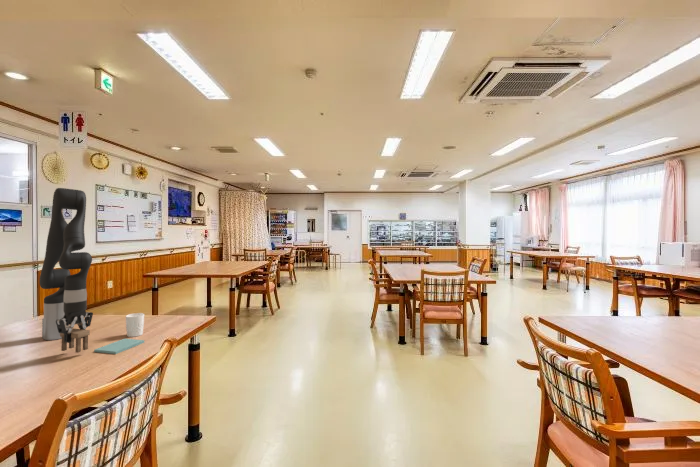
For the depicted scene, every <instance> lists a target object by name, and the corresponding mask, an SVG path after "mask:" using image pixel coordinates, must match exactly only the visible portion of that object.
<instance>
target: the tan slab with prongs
mask: <svg viewBox="0 0 700 467" xmlns="http://www.w3.org/2000/svg"><path fill="white" fill-rule="evenodd" d="M67 331H68V330H67ZM90 333H91V332H90V329H85V330H83V329H79V328H75V327H73V328H72V330H71V342H69V343H66V342H65V341H64V334H63V333H60V337H62V338H61V351H62V352H65V351H68V350H67V349H74V348H75V353H77V354H78V353H81V350H83V351H86V350H88V349H89V336H90ZM81 337H83V338H81Z"/></svg>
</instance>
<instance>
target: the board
mask: <svg viewBox="0 0 700 467" xmlns="http://www.w3.org/2000/svg"><path fill="white" fill-rule="evenodd" d="M142 344H145V340H144V339H133V338H123V339H120V340H117V341H114V342H111V343H109V344H106V345H103V346H100V347H97V348H94V351H93V352H94V353H102V354H103V353H104V354H112V355H116V354H120V353H122V352H124V351H128V350H129V349H132V348H134V347H136V346H139V345H142Z"/></svg>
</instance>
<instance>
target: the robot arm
mask: <svg viewBox="0 0 700 467" xmlns="http://www.w3.org/2000/svg"><path fill="white" fill-rule="evenodd" d="M63 210H74V211H76V212H75V215H74V217H73V218H72V219H71V220H70V221H69V222H67V220H66V219H65V217H64V215H63V213H62V212H63ZM86 210H87V195H86V192H85V191H84V190H81V189H80V190H79V189H72V188H65V187H64V188H63V187H57V188H55V190H54V193H53V196H52V208H51V218H50V225H49V229H48V234H47V240H46V247H45V253H44V254H45V255H44V260H43V264H42V267H41V271H40V274H39V286H40V288H41V289H43V290H50V289H51V290H52V289H58V290H57V291H55V292H54V293H51V294H49V295H47V296H45V297H44V298H43V318H42V320H41V321H42V323H41V326H42V328H41V329H42V330H41V331H42V332H41V336H42V337H41V339H43V340H45V341H53V340H60V339H61V340H62V337H60V333H63V334H64V341H65V342H66V343H67V344H69V342H71V330H72V328H75V325H77V326H78V329H83V330H87V328H88V327H91V324H92V321H93V320H92V319H93V315H94V312H90V311H87V308H88V302H87V301H88V299H87V298H88V292H87V279H88V273H89V270H90V269H91V268H90V267H91V265H92V262H93V257H92V255H91V254H90V253H89V252H86V251H83V252H82V251H81V250H83V249H84V248H85V246H86V238H85V222H86V221H85V220H86ZM76 251H78V252H76ZM79 251H81V252H79ZM57 264H58V265H59V267H60V268H55V267H56V265H57ZM70 270H79V271H78V272H77V273H74V274H72V273H71V272H70ZM67 330H68V331H67ZM81 339H83V337H81Z"/></svg>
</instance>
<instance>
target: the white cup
mask: <svg viewBox="0 0 700 467" xmlns="http://www.w3.org/2000/svg"><path fill="white" fill-rule="evenodd" d="M125 325H126V326H125V328H126V336H127V337H128V338H134V337H140V336H142V335H143V334H144V326H145V313H143V312H137V313H129V314H127V315H125Z"/></svg>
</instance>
